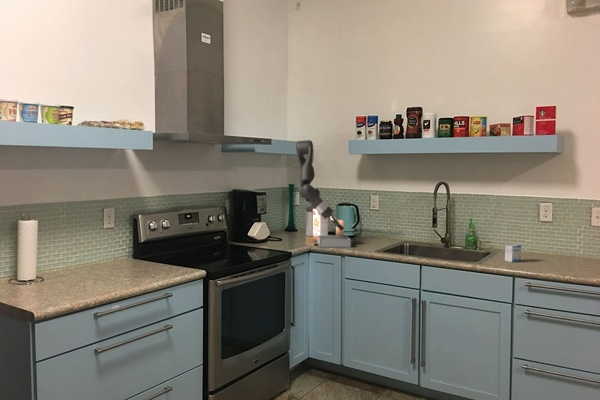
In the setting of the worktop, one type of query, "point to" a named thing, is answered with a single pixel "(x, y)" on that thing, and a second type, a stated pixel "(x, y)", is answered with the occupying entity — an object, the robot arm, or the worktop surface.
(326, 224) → the cracker box
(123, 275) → the worktop surface
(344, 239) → the tote
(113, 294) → the worktop surface
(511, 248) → the medicine box
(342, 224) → the spice jar
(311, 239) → the walnut block
